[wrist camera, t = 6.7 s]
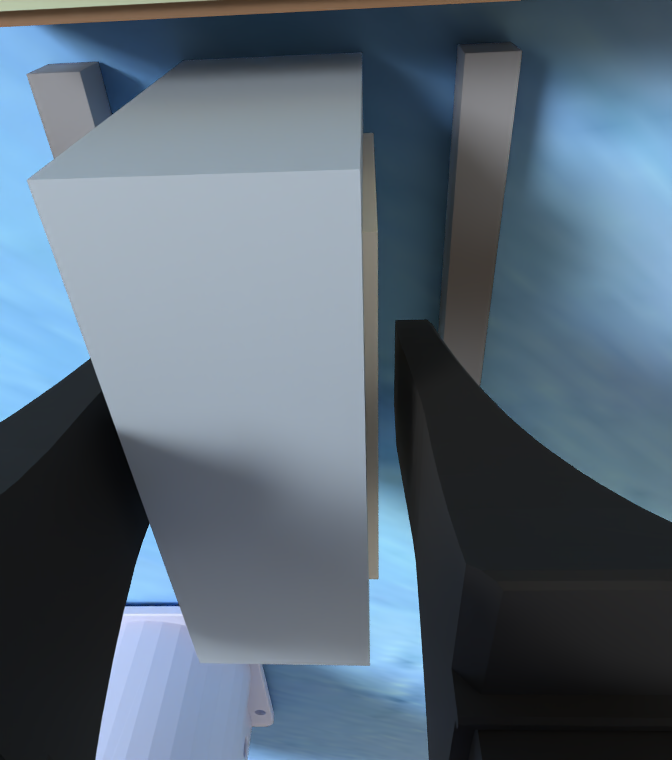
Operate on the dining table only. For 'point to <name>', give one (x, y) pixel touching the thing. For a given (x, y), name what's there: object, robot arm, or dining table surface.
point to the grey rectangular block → (238, 340)
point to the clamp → (467, 154)
